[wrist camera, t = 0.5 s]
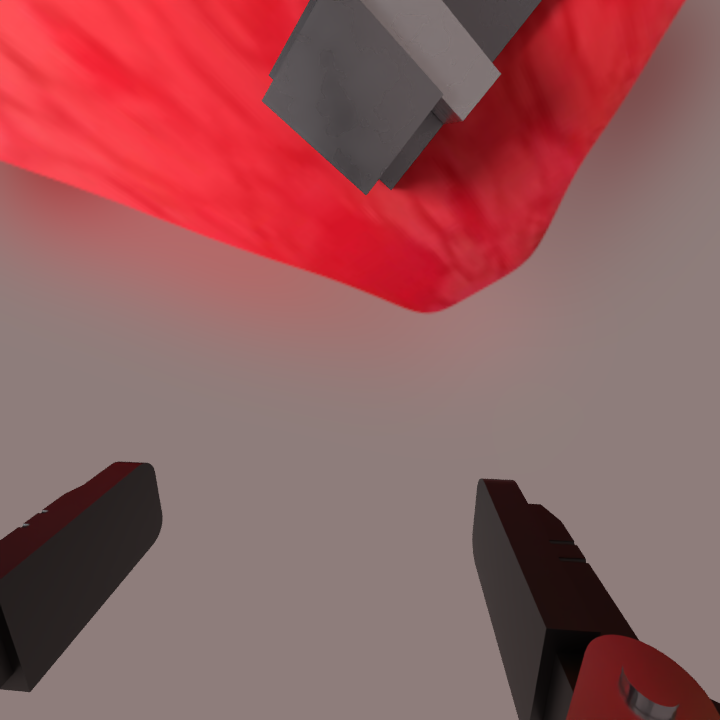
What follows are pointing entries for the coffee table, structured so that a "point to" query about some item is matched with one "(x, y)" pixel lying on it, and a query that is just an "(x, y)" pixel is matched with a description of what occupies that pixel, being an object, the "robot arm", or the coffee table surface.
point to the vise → (487, 28)
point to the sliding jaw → (376, 79)
